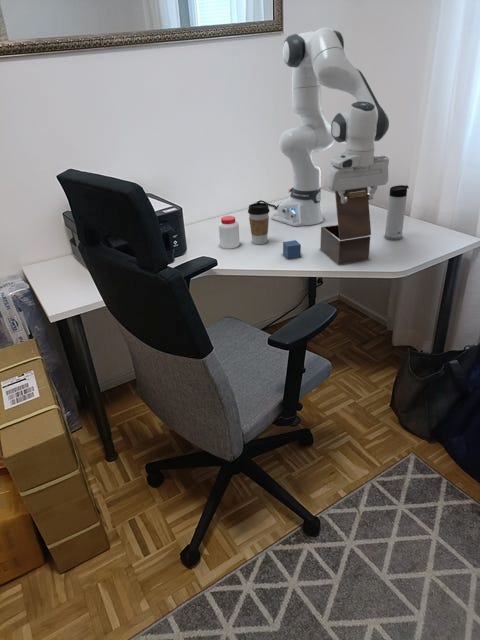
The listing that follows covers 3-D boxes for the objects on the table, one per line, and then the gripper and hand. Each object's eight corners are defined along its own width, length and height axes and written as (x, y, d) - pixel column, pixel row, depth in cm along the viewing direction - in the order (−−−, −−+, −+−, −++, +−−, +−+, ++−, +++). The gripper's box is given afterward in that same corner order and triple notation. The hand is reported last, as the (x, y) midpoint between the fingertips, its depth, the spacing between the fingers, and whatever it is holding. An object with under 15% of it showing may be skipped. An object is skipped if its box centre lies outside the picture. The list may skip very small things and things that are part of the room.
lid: (334, 190, 164) (341, 189, 159) (366, 186, 167) (373, 185, 162) (339, 239, 168) (345, 240, 163) (370, 235, 170) (377, 235, 165)
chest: (320, 249, 185) (321, 226, 181) (348, 244, 187) (349, 222, 183) (338, 264, 172) (339, 241, 168) (368, 259, 174) (370, 236, 170)
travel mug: (403, 240, 188) (409, 188, 178) (385, 240, 190) (390, 188, 179) (401, 234, 193) (408, 183, 183) (384, 234, 195) (389, 183, 185)
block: (287, 259, 178) (287, 246, 176) (283, 254, 183) (282, 241, 180) (300, 257, 179) (300, 244, 177) (295, 252, 184) (295, 239, 181)
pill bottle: (232, 249, 189) (231, 222, 184) (216, 246, 193) (214, 219, 187) (243, 243, 195) (242, 216, 189) (227, 240, 198) (225, 213, 193)
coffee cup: (246, 244, 193) (244, 207, 185) (253, 237, 200) (251, 200, 192) (266, 246, 190) (265, 208, 183) (273, 238, 197) (272, 201, 190)
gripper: (384, 152, 161) (380, 194, 168) (326, 159, 156) (324, 202, 163) (394, 156, 155) (389, 199, 162) (334, 163, 151) (333, 207, 158)
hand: (356, 201), depth 163 cm, fingers open, 8 cm apart
